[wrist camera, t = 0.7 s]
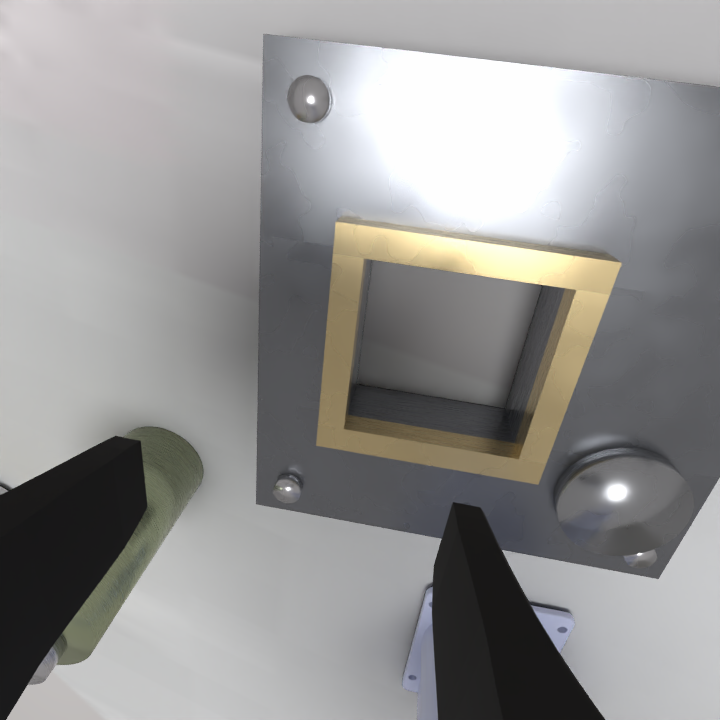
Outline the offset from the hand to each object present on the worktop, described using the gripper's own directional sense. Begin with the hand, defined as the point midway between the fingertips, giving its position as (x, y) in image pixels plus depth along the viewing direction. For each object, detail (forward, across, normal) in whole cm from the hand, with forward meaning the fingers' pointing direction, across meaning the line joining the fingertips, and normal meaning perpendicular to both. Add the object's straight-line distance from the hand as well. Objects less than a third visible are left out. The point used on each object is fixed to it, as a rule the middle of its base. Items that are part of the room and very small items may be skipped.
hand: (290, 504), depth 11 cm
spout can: (+10, +9, +9) cm, 17 cm away
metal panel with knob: (+10, -6, -1) cm, 12 cm away
